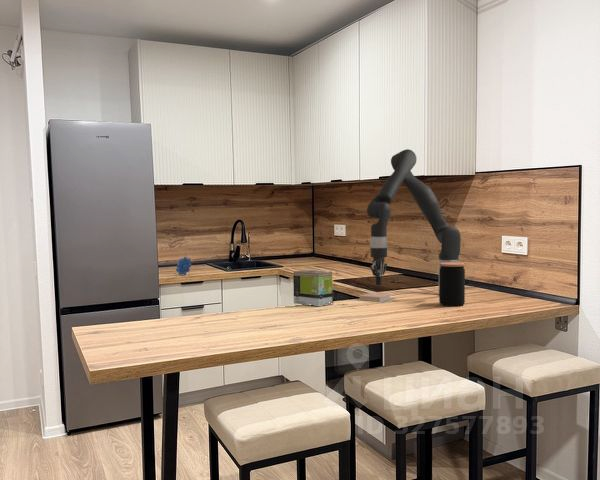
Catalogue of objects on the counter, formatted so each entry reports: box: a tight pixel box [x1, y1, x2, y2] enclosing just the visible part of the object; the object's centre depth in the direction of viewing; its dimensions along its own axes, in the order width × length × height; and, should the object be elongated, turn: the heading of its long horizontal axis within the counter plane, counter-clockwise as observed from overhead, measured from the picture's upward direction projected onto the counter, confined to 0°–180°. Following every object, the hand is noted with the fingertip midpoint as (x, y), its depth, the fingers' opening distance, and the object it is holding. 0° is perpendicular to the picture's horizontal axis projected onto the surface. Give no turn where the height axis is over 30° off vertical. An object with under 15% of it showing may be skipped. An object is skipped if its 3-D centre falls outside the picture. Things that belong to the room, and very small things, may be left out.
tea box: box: [292, 269, 333, 307], centre depth 250 cm, size 15×10×15 cm, turn 47°
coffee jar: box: [438, 262, 466, 308], centre depth 244 cm, size 11×11×18 cm
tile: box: [359, 292, 391, 303], centre depth 252 cm, size 10×2×10 cm
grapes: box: [175, 256, 193, 275], centre depth 374 cm, size 12×7×12 cm, turn 134°
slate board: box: [355, 297, 397, 303], centre depth 253 cm, size 14×14×2 cm
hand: (378, 285), depth 255 cm, fingers closed
